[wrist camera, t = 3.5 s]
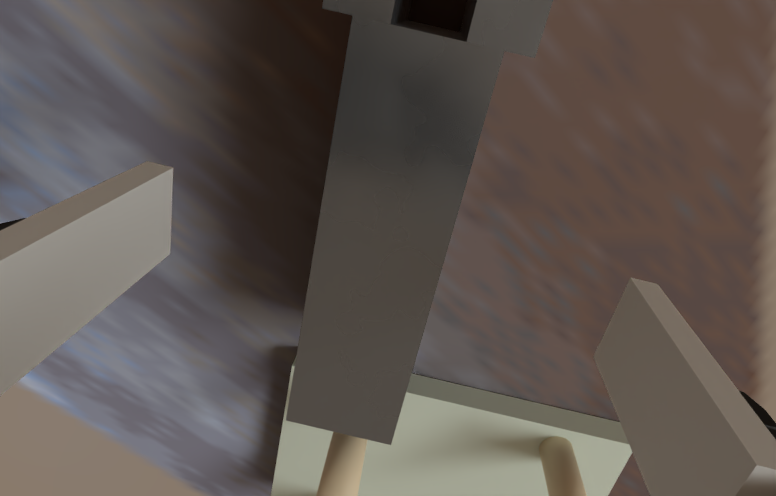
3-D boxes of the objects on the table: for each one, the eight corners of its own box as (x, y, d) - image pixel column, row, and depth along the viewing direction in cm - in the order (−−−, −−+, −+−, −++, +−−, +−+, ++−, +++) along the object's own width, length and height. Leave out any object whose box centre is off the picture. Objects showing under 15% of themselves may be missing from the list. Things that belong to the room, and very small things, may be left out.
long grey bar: (420, 341, 26) (412, 450, 19) (309, 315, 26) (264, 415, 19) (531, -47, 18) (576, -77, 12) (377, -83, 18) (341, -131, 12)
